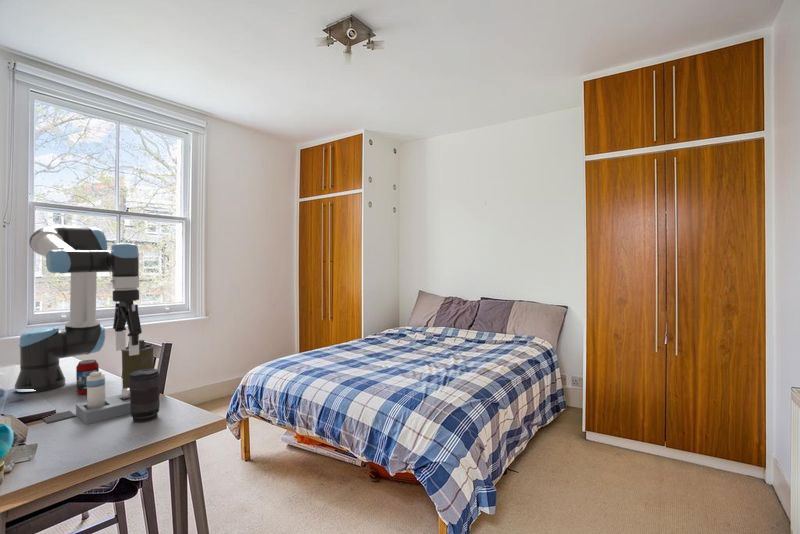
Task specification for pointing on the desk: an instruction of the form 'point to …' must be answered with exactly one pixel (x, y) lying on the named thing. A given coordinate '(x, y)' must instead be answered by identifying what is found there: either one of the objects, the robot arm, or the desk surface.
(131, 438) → the desk surface
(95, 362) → the beverage can
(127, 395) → the plunger
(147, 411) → the camera lens
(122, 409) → the block
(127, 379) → the canister
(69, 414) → the mat
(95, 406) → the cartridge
